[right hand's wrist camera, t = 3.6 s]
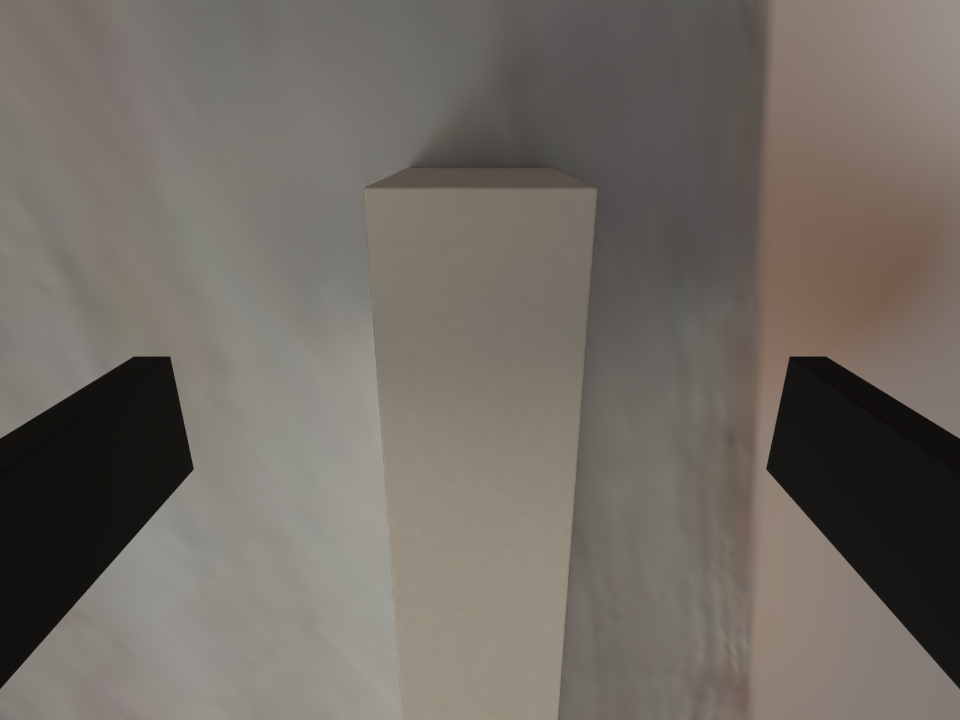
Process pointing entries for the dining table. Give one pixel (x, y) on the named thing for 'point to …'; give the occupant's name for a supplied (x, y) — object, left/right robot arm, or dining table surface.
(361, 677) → the dining table surface
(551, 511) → the beam
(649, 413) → the dining table surface
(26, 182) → the dining table surface
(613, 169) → the dining table surface
